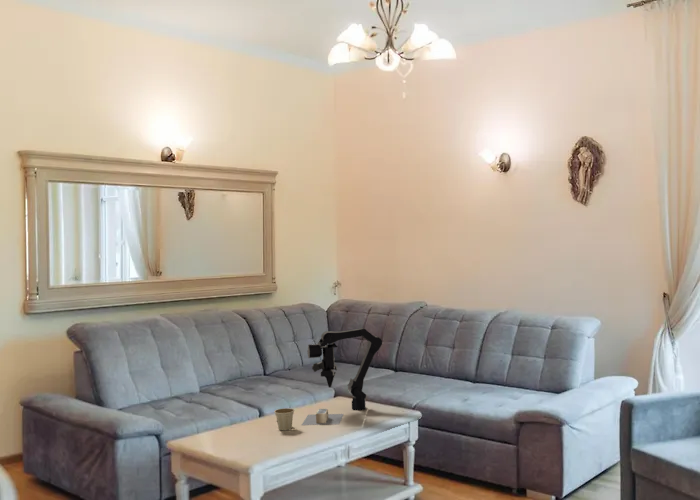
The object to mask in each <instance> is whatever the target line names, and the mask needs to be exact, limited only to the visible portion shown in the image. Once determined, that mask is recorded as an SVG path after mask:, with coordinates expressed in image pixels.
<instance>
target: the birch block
mask: <svg viewBox="0 0 700 500" xmlns="http://www.w3.org/2000/svg"><path fill="white" fill-rule="evenodd" d="M315 414H316V423H326V422H327V420H328V414H329V408H318V410H317V412H316V413H315Z"/></svg>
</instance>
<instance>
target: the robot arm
mask: <svg viewBox="0 0 700 500" xmlns="http://www.w3.org/2000/svg"><path fill="white" fill-rule="evenodd" d="M359 337H361V338H363V339H365V341H367V344H366V351H365V354H364V356H363V358H362V361H361V363H360V365H359V367H358V370H357V372H356V375H355V377H354V378H353V379H352V378H350V380H349V383H348V384H347V390H348V392H349V394H350V395H351V397H352V399H351V409H352V411H366V409H367V407H366V406H367V405H366V404H367V403H366V398H367V394H366V393H365V392H363V387H364V380H365V377H366V376H367V373H368V371H369V368H370V366H371V363H372V361H373V360H374V359H373V358H374V356H375V355H376V353H378V351H380V348H381V347H382V345H383V340H382V339H381V337H378V336H377V335H373V334H372V333H371V332H369V331H368V330H367V329H366V328H365V327H364V328H363V327H360V328H357V329H354V328H353V329H348V330H342V331H330V330H329V331H327V330H326V331H323V332H322V334H321V336H320V339H319V340H318V342H317V343H316V344H308V346H307V358H308V359H315V358H321V356H322V359H321V361H319V362H315V363H313V365H312V366H311V368H312V370H313V373H315V372H317V371H319V370H321V371H320V377H322V378H323V377H324V378H325V379H326V383H327V385H328V386H327V387H328V388H332V385H333V382H334V379H335V376H336V374H337V373H336V371H337V370H338V365H337V364H336V363H335V360H336V359H335V349H334V348H338V345H337V344H336V343H337V342H338V341H341V340H345V339H346V340H347V339H352V338H353V339H354V338H359ZM334 370H335V371H334Z"/></svg>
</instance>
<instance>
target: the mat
mask: <svg viewBox="0 0 700 500" xmlns="http://www.w3.org/2000/svg"><path fill="white" fill-rule="evenodd" d="M343 416H344V413H328V420H327V422H326V423H316V413H315V414H307V415H306V418H304V420H303V422H302V423H301V426H318V425H319V426H329V425H330V426H331V425H333V426H334V425H340V424H341V421H342V419H343Z"/></svg>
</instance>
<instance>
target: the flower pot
mask: <svg viewBox="0 0 700 500" xmlns="http://www.w3.org/2000/svg"><path fill="white" fill-rule="evenodd" d="M294 412H295V409H293V408H290V407H289V408H288V407H285V408H277V409H275V410H274V414H275V416H276V422H277V426H278V427H277V428H278V430H279V431H290V430H291V429H292V427H293V417H294V414H295V413H294Z"/></svg>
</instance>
